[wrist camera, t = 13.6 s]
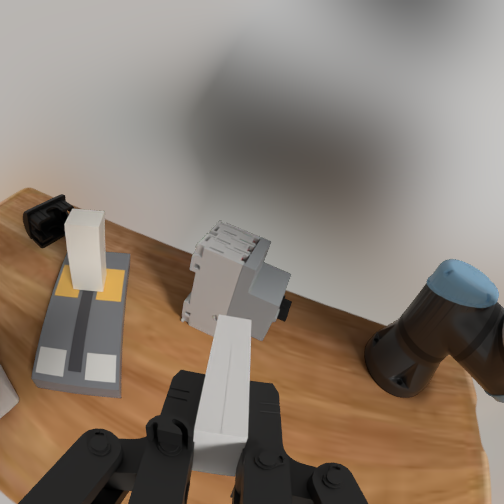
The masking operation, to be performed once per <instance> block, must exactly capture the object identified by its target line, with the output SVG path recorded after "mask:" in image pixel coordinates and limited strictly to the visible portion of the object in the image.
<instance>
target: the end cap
mask: <svg viewBox="0 0 504 504" xmlns="http://www.w3.org/2000/svg"><path fill="white" fill-rule="evenodd" d="M72 209H74V207H73V206H72V205H70V204H69V203H67V202H66V201H65V195H59V196H57V197H54V198H52V199H50V200H48V201H46V202H43V203H41V204H39V205H37V206H35V207H33V208H31V209H29V210H27V211H25V212H24V213H23V222H24V226H25V229H26V231H27V233H28V235H29V236H30V238H31V239H33V240H34V242H36V243H37V244H38V245H39V246H40V247H41V248H45V247H46V246H48V245H50V244H51V243H53V242H55V241H57V240H58V239H60V238H62V237H64V236H65V226H64V224H65V222H66V220H67V218H68V216H69V214H68V213H67V210H68V211H70V212H71V210H72Z"/></svg>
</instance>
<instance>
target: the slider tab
mask: <svg viewBox="0 0 504 504" xmlns="http://www.w3.org/2000/svg"><path fill="white" fill-rule="evenodd" d="M64 226H65V236H66V244H67V252H68V259H69V266H70V272H71V278H72V284H73V289H77V290H87V291H98V292H103V290H104V285H105V280H106V275H107V272H106V254H105V211H98V210H85V209H72V210H71V212H70V214H69V216H68V218H67V220H66V222H65V224H64Z"/></svg>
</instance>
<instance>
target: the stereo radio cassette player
mask: <svg viewBox="0 0 504 504" xmlns="http://www.w3.org/2000/svg"><path fill="white" fill-rule="evenodd" d="M18 402H19V397H18V395H17V393H16V392H15V390H14V388H13V387H12V385H11V383H10V381H9V379H8V378H7V376H6V374H5V372H4V370H3V368H2V366H1V364H0V418H1V417H3V416H4V415H5V414H6V413H8V412H9V411H10V410H11V409H12V408H13V407H14V406H15V405H16V404H17V403H18Z"/></svg>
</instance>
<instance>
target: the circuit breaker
mask: <svg viewBox="0 0 504 504" xmlns="http://www.w3.org/2000/svg"><path fill="white" fill-rule="evenodd" d="M270 244H271V241H269V240H267V239H264V238H262V237H260V236H257V235H255V234H252V233H250V232H248V231H245V230H242V229H240V228H238V227H236V226H233V225H231V224H228V223H226V224H225V223H222V222H221V220H220V221H219V222H218V223H217V224H216V225H215V226H214V227H213V228H212V229H211V231H210V232H209V233H207V234H206V235H205V236H204V237H203V238H202V239H201V240H200V241H199V243H198V244H197V245H196V250H195V252H194V253H193V255H192V259H191V264H190V270H191V271H193V272H196V273H195V278H194V283H193V288H192V292H191V293H190V294H189V295H188V297H187V298H186V299H185V301H184V304H183V310H182V315H183V316H182V319H181V321H182V322H184V321H186V322H188V323H189V324H188V325H190V326H192V327H194V328H196V329H198V330H200V331H202V332H204V333H206V334H209V335H211V336H213V337H214V334H215V330H216V325H217V321H218V316H219V314H220V315H226V316H231V317H237V318H243V319H250V320H251V337H253V338H256V339H258V340H260V341H263V339H264V337H265V335H266V333H267V331H268V329H269V327H270V325H271V323H272V322H275V321H276V319H280V320H282V321H285V320H286V318H287V316H288V312H289V308H290V306H291V303H292V301H289V300H287V299H285V296H284V293H285V290H286V287H287V285H288V282H289V279H290V276H291V274H290V273H288V272H285V271H283V270H280V269H278V268H276V267H273V266H271V265H269V264H267V263H265V262H264V260H265V257H266V254H267V252H268V249H269V247H270Z"/></svg>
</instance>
